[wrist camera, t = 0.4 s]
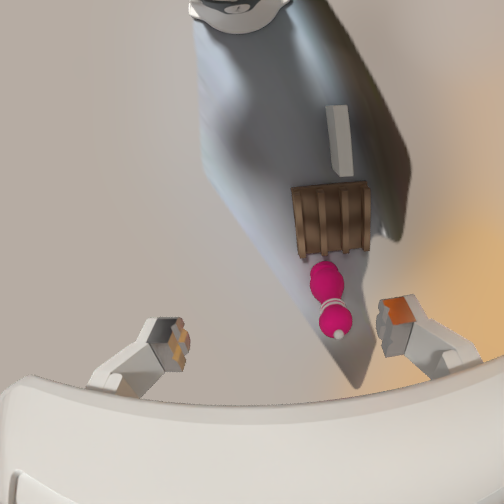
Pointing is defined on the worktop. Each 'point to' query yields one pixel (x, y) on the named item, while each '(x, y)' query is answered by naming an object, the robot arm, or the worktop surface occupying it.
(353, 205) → the walnut rack
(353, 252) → the worktop surface
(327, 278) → the pepper mill
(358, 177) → the worktop surface
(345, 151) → the clay strip
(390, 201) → the worktop surface
